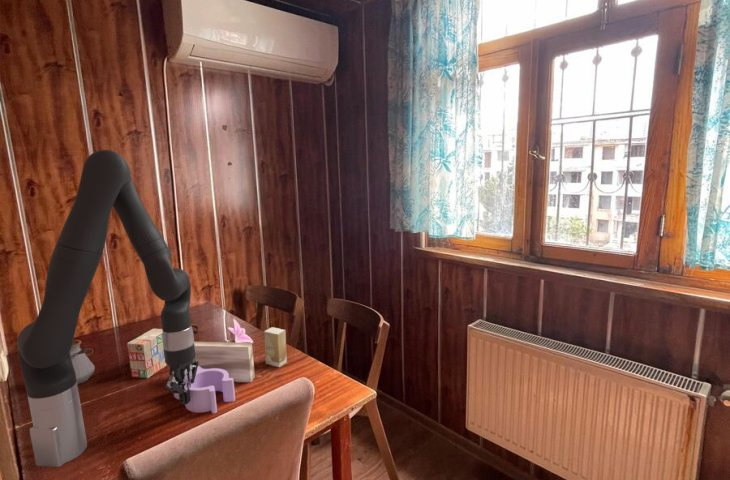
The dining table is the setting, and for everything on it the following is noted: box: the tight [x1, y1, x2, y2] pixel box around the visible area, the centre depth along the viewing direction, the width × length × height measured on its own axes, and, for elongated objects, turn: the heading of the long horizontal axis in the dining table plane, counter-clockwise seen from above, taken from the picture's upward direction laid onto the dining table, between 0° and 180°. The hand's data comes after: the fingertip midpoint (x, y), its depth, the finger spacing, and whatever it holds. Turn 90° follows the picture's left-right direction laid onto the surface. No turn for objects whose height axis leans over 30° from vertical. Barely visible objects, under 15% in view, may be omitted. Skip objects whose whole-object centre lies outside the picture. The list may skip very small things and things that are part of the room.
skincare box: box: [263, 326, 288, 368], centre depth 139 cm, size 6×4×12 cm
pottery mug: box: [191, 319, 199, 333], centre depth 166 cm, size 12×10×8 cm
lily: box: [227, 318, 254, 344], centre depth 153 cm, size 12×12×10 cm
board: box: [193, 341, 256, 383], centre depth 129 cm, size 3×22×12 cm, turn 84°
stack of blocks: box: [127, 328, 168, 379], centre depth 142 cm, size 21×6×12 cm, turn 168°
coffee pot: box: [70, 339, 95, 386], centre depth 128 cm, size 21×12×15 cm, turn 55°
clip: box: [173, 366, 236, 414], centre depth 119 cm, size 20×12×7 cm, turn 59°
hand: (185, 402), depth 110 cm, fingers closed
